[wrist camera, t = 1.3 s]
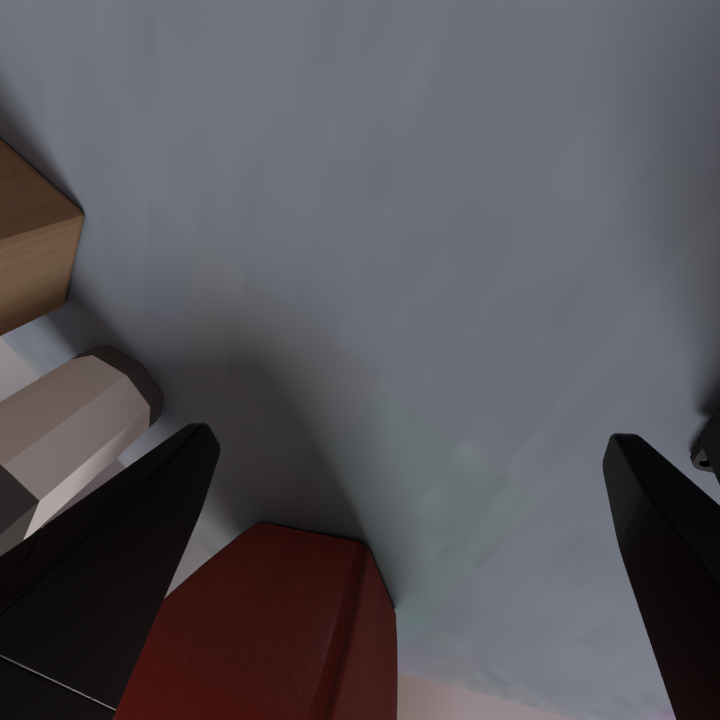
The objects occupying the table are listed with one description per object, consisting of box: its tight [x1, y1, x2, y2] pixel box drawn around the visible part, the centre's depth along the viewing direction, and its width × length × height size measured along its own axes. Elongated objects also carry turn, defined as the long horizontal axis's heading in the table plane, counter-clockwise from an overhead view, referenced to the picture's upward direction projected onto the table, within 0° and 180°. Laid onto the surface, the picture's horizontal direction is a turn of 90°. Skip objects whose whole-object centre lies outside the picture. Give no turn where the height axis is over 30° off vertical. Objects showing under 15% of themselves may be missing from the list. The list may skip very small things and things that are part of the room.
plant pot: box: [113, 522, 397, 720], centre depth 34 cm, size 19×19×17 cm
